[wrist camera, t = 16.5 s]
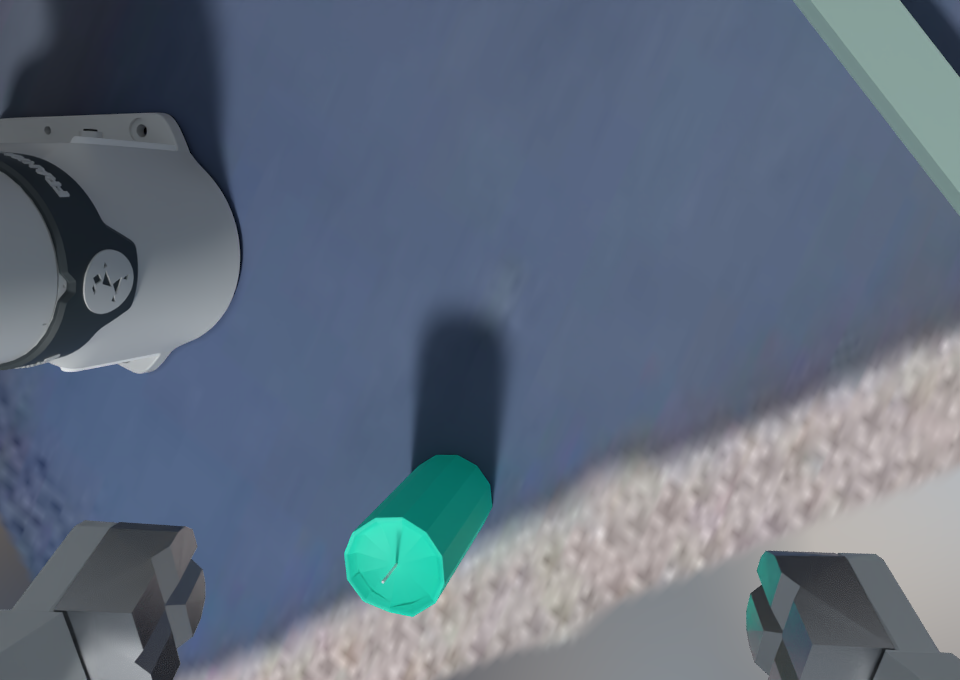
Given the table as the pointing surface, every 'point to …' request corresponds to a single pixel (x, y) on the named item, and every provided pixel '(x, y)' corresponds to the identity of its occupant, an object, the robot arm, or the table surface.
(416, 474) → the candle
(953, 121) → the loose leg
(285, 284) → the table surface
